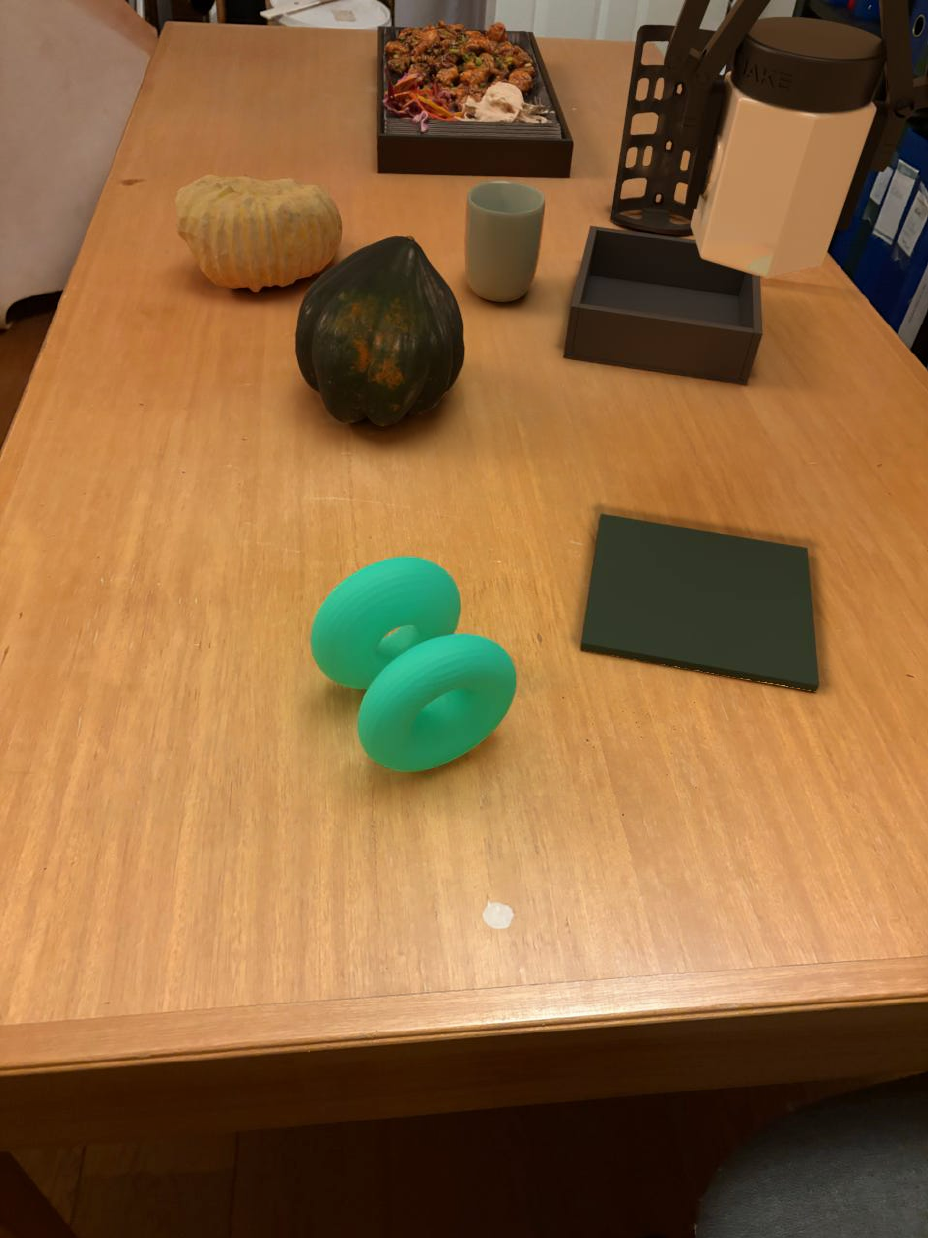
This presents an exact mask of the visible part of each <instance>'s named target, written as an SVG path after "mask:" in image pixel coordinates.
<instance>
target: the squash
mask: <svg viewBox="0 0 928 1238" xmlns="http://www.w3.org/2000/svg"><path fill="white" fill-rule="evenodd" d="M294 334H295V335H294V337H295V338H294V340H295V341H294V344H295V345H294V352H295V357H296V361H297V366H298V368H299V371H300V374H301V376H302V377H303V379H304V381H305V382H306V384H307V385H308V386H309V387H310V388H311V389H313V390H314V391H315V392H316V393H318V394H320V398H321V400H322V404H323V405H324V407H325V409H326V411H327V413H328V414H329V415H330V416H332V417H333V418H334V419H335V420H336V421H338V422H340V423H344V424H351V423H357V422H360V421H362V420H364V419H365V418H368V419H369V420H370V421H371V422H372V423H373V424H375V425H376V426H380V427H387V426H391V425H395V424H397V423H398V422H399V421H400V420H402V419H403V418H404V416H405V415H406V414H410V415H418V414H422V413H426V412H430V410H432V409H434V408H435V406H437V404H438V403H439V402H440V400H442V398H443V397H444V395H445V394H447V393H448V392H449V391H450V390H451V389H452V387H453V386H454V384H455V383H456V381H457V380H458V377H459V376H460V373H461V371H462V369H463V366H464V361H465V354H466V353H465V352H466V351H465V349H466V347H465V340H464V322H463V317H462V312H461V309H460V306H459V302H458V300H457V298H456V296H455V294H454V292H453V290H452V289H451V287H450V285H449V284H448V283H447V282H446V280H445V279H444V278H443V276H442V275H441V273H439V271H438V270H437V269H436V267H435V266H434V265H433V264H432V262H431V261H430V259H429V258H428V256H427V254H426V253H425V251H424V249H423V247H422V246H421V245H420V244H419V243H418V242H417V241H416V239H415V237H414V236H412V235H407V236H403V235H393V236H389V237H386V238H383V239H380V240H377V241H374V242H373V243H371V244H368V245H365V246H363V247H361V248H359V249H357V250H355V251H353V252H352V253H350V254H349V255H348V256H346V257H345V258H343V259H342V260H340V261H339V262H338V263H336V264H335V265H333V266H332V267H330V268H328V269H327V270H325V272H323V273H322V274H321V275H320V276H319V277H318V278H317V279H316V280H315V281H314V282H313V283H312V284H310V286H309V288H307V291H306V292H305V295H304V296H303V299H302V302H301V305H300V307H299V311H298V315H297V320H296V328H295V333H294Z"/></svg>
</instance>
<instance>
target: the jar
mask: <svg viewBox="0 0 928 1238" xmlns="http://www.w3.org/2000/svg"><path fill="white" fill-rule="evenodd" d="M886 58H887V54H886V50H885V46H884V43H883V41H882V38H880V37H878V36H877V35H875V34H873V33H871V32H868V31H866V30H864V29H861V28H858V27H855V26H852V25H848V24H844V23H841V22H834V21H830V20H827V19H826V20H824V19H819V18H812V17H801V16H800V17H799V16H772V17H771V16H770V17H762V18H758V19H757V21H756V22H755V24H754V25H753V27H752V28H751V29H750V31H749V32H748V34H747V35H746V37H745V38H744V40H743V41H742V42H741V44H740V45H739V47H738V48H737V50H736V51H735V52H734V56H733V60H732V61H733V62H732V64H733V66H732V70H731V72H728V73H727V74H726V76H725V80H724V93H723V99H722V103H721V107H720V112H719V116H718V120H717V124H716V129H715V133H714V137H713V141H712V146H711V150H710V154H709V158H708V163H707V167H706V171H705V175H704V180H703V184H702V188H701V192H700V197H699V201H698V205H697V209H694V213H693V217H692V221H690V223H691V229H692V232H693V234H692V236H693V238H694V240H695V242H696V245H697V248H698V251H699V254H700V257H701V258H702V259H704V260H707V261H710V262H714V263H717V264H720V265H723V266H727V267H730V268H733V269H736V270H740V271H743V272H746V273H749V274H753V275H756V276H759V277H760V278H763V279H766V280H768V279H769V280H770V279H774V278H778V277H782V276H786V275H791V274H794V273H798V272H803V271H807V270H811V269H815V268H819V267H821V266H823V264H824V262H825V259H826V256H827V253H828V251H829V249H830V248H829V247H830V245H831V241H832V239H833V236H834V233H835V231H836V229H835V228H836V225H837V222H838V219H839V216H840V213H841V210H842V208H843V205H844V202H845V199H846V196H847V193H848V190H849V187H850V185H851V182H852V179H853V176H854V173H855V170H856V167H857V165H858V162H859V159H860V156H861V153H862V150H863V147H864V144H865V142H866V139H867V136H868V133H869V130H870V127H871V124H872V122H873V119H874V116H875V113H876V106H875V105H874V104H873V102H872V100H874V96H875V94H876V90H877V88H878V85H879V83H880V79H881V76H882V73H883V70H884V69H885V66H884V65H885V62H886Z"/></svg>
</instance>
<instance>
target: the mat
mask: <svg viewBox="0 0 928 1238" xmlns="http://www.w3.org/2000/svg"><path fill="white" fill-rule="evenodd" d="M598 521H599V522H598V528H597V534H596V542H595V548H594V553H593V555H594V556H593V560H592V561H593V562H592V567H591V575H590V582H589V587H588V594H587V600H586V607H585V614H584V622H583V626H582V634H581V640H580V647H579V650H580V649H581V650H580V651H583V650H586V651H585V652H588V651H591V652H590V653H594V652H596V653H595V654H599V653H601V654H600V655H605V654H606V655H605V656H610V655H614V656H613V657H616V656H619V657H618V658H621V657H623V658H622V659H627V658H629V659H628V660H632V659H636V660H635V661H638V660H639V662H643V661H646V662H645V663H649V662H650V663H649V664H654V663H655V664H654V665H660V664H665V665H668V666H667V667H671V666H677V667H680V668H679V669H682V668H687V669H690V670H689V671H693V670H699V671H702V672H701V673H704V672H709V673H714V674H713V675H715V674H719V675H718V676H720V675H725V676H724V677H726V676H730V677H729V678H731V677H735V678H734V679H737V678H743V679H750V680H752V681H751V682H754V681H760V682H767V683H773V684H779V685H785V686H788V687H794V688H800V689H805V690H811V691H816V692H817V691H818V689H819V687H820V682H819V681H820V679H819V669H818V656H817V644H816V633H815V622H814V621H815V620H814V609H813V596H812V595H813V594H812V585H811V573H810V571H811V570H810V562H809V561H810V560H809V548H808V547H804V546H798V545H793V544H786V543H781V542H775V541H768V540H763V539H756V538H750V537H745V536H738V535H732V534H727V533H720V532H714V531H709V530H704V529H703V530H702V529H696V528H691V527H684V526H678V525H673V524H667V523H661V522H654V521H648V520H642V519H637V518H630V517H624V516H618V515H612V514H607V513H600V517H599V520H598ZM665 665H664V666H665ZM687 669H686V670H687ZM709 673H708V674H709ZM743 679H742V680H743Z"/></svg>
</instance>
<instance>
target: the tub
mask: <svg viewBox="0 0 928 1238" xmlns="http://www.w3.org/2000/svg"><path fill="white" fill-rule="evenodd" d="M762 309H763V307H762V288H761V277H759V276H756V275H753V274H749V273H746V272H743V271H740V270H736V269H733V268H730V267H727V266H723V265H720V264H717V263H714V262H710V261H707V260H704V259H702V258H701V257H700V254H699V251H698V248H697V245H696V242H695V239H693V238H692V239H691V238H684V237H678V236H677V237H676V236H670V235H664V234H656V233H649V232H648V233H647V232H641V231H640V232H639V231H632V230H625V229H616V228H612V227H611V228H610V227H602V226H596V225H589V229H588V233H587V237H586V240H585V245H584V249H583V254H582V257H581V261H580V266H579V270H578V274H577V278H576V282H575V285H574V290H573V295H572V299H571V303H570V307H569V313H568V314H569V315H568V321H567V329H566V336H565V341H564V349H563V356H562V357H563V358H565V359H570V360H578V361H583V362H584V361H585V362H591V363H596V364H597V363H598V364H603V365H604V364H605V365H611V366H618V367H624V368H630V369H631V368H632V369H637V370H643V371H650V372H656V373H663V374H669V375H676V376H683V377H691V378H696V379H704V380H711V381H717V382H722V383H723V382H724V383H730V384H736V385H737V384H738V385H742V386H743V385H744V386H747V385H748V382H749V379H750V375H751V372H752V369H753V367H754V363H755V360H756V356H757V354H758V351H759V347H760V344H761V341H762V338H763V334H764V332H763V331H764V330H763V313H762V311H763V310H762Z"/></svg>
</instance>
